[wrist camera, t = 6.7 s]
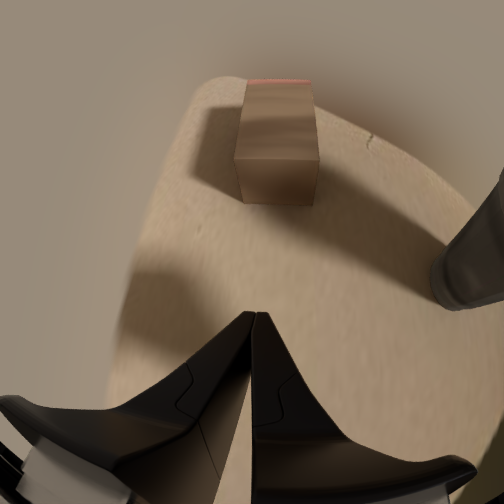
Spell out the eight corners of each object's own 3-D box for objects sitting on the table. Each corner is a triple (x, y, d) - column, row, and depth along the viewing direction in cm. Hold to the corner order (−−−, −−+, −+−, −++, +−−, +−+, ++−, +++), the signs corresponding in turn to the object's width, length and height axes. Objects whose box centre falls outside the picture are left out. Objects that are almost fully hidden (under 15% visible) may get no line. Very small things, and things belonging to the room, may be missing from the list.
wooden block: (319, 160, 15) (310, 80, 18) (233, 159, 15) (247, 79, 19) (312, 205, 19) (308, 123, 23) (243, 203, 20) (253, 123, 23)
